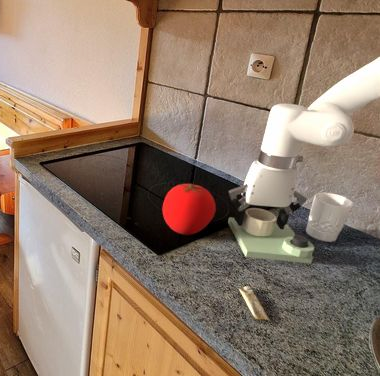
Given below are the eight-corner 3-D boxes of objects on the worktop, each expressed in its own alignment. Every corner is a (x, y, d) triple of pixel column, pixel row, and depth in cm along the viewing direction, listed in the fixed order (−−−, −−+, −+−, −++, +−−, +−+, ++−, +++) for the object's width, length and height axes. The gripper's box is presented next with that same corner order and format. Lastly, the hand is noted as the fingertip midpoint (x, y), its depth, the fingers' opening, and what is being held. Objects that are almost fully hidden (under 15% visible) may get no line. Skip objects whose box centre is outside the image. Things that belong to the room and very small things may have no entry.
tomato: (158, 237, 99) (166, 191, 94) (160, 215, 109) (167, 172, 104) (211, 246, 96) (222, 199, 91) (208, 223, 106) (218, 179, 101)
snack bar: (272, 321, 73) (257, 315, 73) (267, 326, 74) (252, 321, 73) (251, 286, 81) (238, 281, 81) (247, 291, 82) (234, 286, 82)
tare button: (303, 242, 93) (305, 235, 92) (308, 249, 90) (311, 242, 90) (289, 240, 93) (291, 234, 93) (294, 247, 91) (296, 241, 90)
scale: (286, 228, 105) (289, 216, 103) (314, 265, 90) (319, 252, 89) (227, 222, 107) (230, 211, 105) (246, 258, 92) (249, 245, 90)
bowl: (266, 225, 103) (270, 209, 101) (275, 239, 96) (280, 222, 95) (238, 222, 103) (242, 207, 102) (245, 236, 97) (250, 220, 95)
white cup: (343, 245, 98) (358, 209, 93) (306, 239, 100) (319, 203, 96) (334, 230, 104) (347, 195, 100) (299, 224, 107) (311, 190, 102)
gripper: (310, 156, 94) (290, 220, 101) (232, 151, 96) (218, 214, 104) (325, 168, 87) (303, 236, 95) (241, 162, 90) (225, 229, 97)
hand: (258, 224), depth 99 cm, fingers open, 9 cm apart
